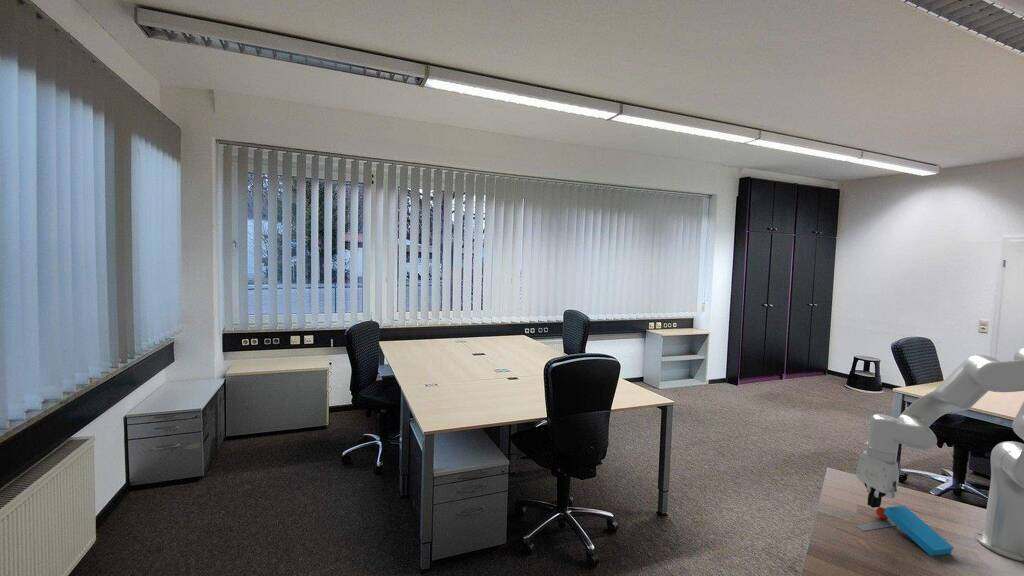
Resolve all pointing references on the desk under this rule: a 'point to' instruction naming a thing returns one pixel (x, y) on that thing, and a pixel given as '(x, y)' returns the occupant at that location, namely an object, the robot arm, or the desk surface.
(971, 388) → the robot arm
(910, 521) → the lever
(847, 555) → the desk surface
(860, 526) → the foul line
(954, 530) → the desk surface
